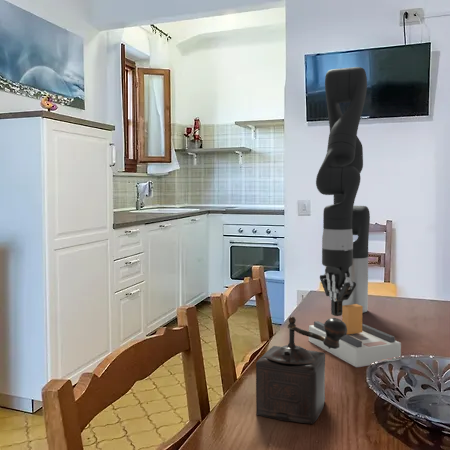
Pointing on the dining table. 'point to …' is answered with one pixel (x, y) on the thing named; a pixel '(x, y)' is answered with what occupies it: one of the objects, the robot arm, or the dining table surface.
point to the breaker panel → (360, 348)
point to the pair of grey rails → (364, 328)
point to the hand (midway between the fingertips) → (336, 315)
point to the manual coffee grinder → (295, 376)
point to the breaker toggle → (352, 318)
